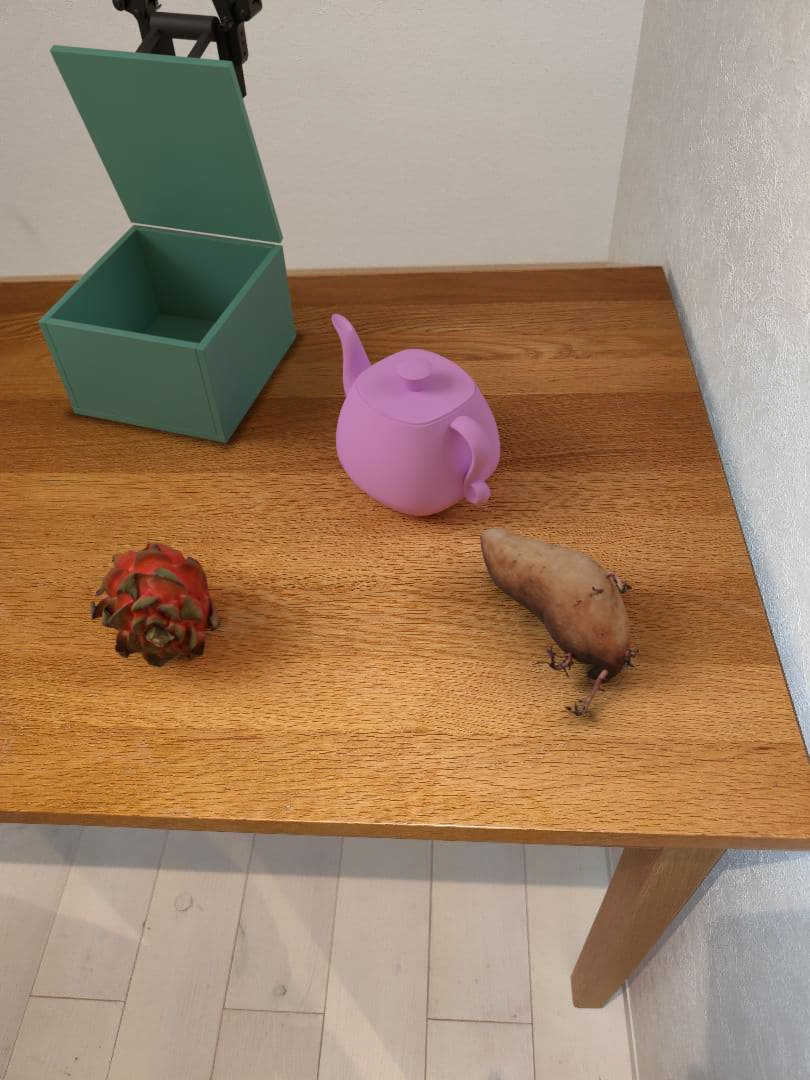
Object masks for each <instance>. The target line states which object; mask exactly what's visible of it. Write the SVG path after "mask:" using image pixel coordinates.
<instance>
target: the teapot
mask: <svg viewBox="0 0 810 1080" xmlns="http://www.w3.org/2000/svg"><path fill="white" fill-rule="evenodd" d="M331 322H332V325H333V327H334V329H335V330H336V333H337V335H338V337H339V340H340V343H341V349H342V385H343V390H344V395H345V399H344V401H343V404H342V406H341V408H340V412H339V415H338V420H337V425H336V431H335V432H336V433H335V446H336V454H337V457H338V460H339V462H340V464H341V466H342V468H343V470H344V471H345V473H346V474H347V476H348V478H350V479H351V481H352V482H353V483H354V484H355V485H356V486H357V487H358V488H359V489H360V490H362V491H363V492H364V493H365V494H366V495H368V496H369V497H370V498H372V499H373V500H375V501H377V502H378V503H381V504H382V505H383V506H385V507H387V508H389V509H391V510H394V511H396V512H398V513H401V514H405V515H409V516H414V517H415V516H416V517H424V516H430V515H435V514H438V513H441V512H442V511H445V510H447V509H449V508H450V507H453V506H455V505H457V503H459V502H461V501H463V500H464V499H466V501H468V502H469V503H471V504H473V505H482V504H485V503H486V502H488V500H489V499H490V497H491V489H490V487H489V486H488V484H487V483H486V481H487V480H489V478H490V477H491V476H492V475H493V474H494V472H495V470H496V469H497V467H498V465H499V463H500V459H501V441H500V434H499V430H498V426H497V422H496V420H495V416H494V413H493V412H492V410H491V407H490V406H489V404H488V402H487V400H486V398H485V397H484V395H483V393H482V392H481V390H480V388H479V386H478V385H477V383H476V382H475V381H474V379H473V378H472V377H471V376H470V375H469V373H467V371H466V370H464V369H463V368H461V366H460V365H458V364H457V363H455V362H453V361H452V360H450V359H448V358H446V357H444V356H442V355H439V354H437V353H435V352H432V351H429V350H426V349H419V348H408V349H404V350H400V351H398V352H395V353H393V354H390V355H388V356H387V357H385V358H383V359H381V360H379V361H377V362H376V363H374V364H371V362H370V359H369V357H368V355H367V353H366V350H365V348H364V346H363V343H362V341H361V339H360V337H359V335H358V333H357V331H356V329H355V327H354V326H353V323H351V322H350V321H349V320H348V319H347V318H346V317H345V316H343V315H341V314H339V313H333V314H332V315H331Z"/></svg>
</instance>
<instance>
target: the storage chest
mask: <svg viewBox="0 0 810 1080" xmlns="http://www.w3.org/2000/svg"><path fill="white" fill-rule="evenodd" d="M283 246H284V245H281V244H276V243H270V242H263V241H261V242H260V241H256V240H249V239H242V238H235V237H228V236H220V235H213V234H206V233H199V232H192V231H185V230H178V229H175V230H174V229H170V228H163V227H156V226H149V225H141V224H133V225H132V226H131V227H130V228H129V229H128V230H127V231H126V232H125V233H124V234H122V236H121V237H120V238H119V239H118V240H117V241H116V242H115V243H114V244H113V245H112V246H111V247H110V248H109V249H108V250H107V251H105V252H104V254H103V255H102V256H101V257H100V258H99V259H98V260H97V261H96V262H94V264H93V265H92V266H91V267H90V268H89V269H88V270H87V271H86V272H85V273H84V274H83V275H82V276H81V277H80V278H79V279H78V280H77V281H76V282H75V283H74V284H73V285H72V286H71V287H70V288H69V289H68V290H67V291H66V293H64V295H62V296H61V297H60V298H59V300H57V301H56V302H55V303H54V305H52V307H50V309H48V310H47V312H45V313H44V315H43V316H41V317H40V319H38V321H37V323H38V326H39V328H40V330H41V333H42V335H43V338H44V340H45V342H46V345H47V348H48V350H49V352H50V353H49V354H50V355H51V357H52V359H53V362H54V365H55V368H56V369H57V372H58V374H59V377H60V379H61V383H62V385H63V388H64V389H65V393H66V395H67V397H68V400H69V403H70V405H71V407H72V410H73V412H74V414H76V415H80V416H86V417H92V418H96V419H102V420H105V421H111V422H115V423H122V424H127V425H132V426H137V427H142V428H146V429H152V430H157V431H162V432H166V433H167V432H168V433H173V434H177V435H183V436H188V437H192V438H198V439H202V440H209V441H214V442H218V443H223V444H227V443H228V442H229V440H230V439H231V438H232V436H233V434H234V433H235V431H236V429H237V428H238V426H239V425H240V424H241V422H242V420H243V419H244V417H245V416H246V415H247V413H248V411H249V410H250V408H251V407H252V405H253V404H254V402H255V400H256V399H257V398H258V397H259V395H260V393H261V392H262V390H263V389H264V387H265V386H266V384H267V382H268V381H269V379H270V378H271V376H272V375H273V373H274V372H275V370H276V369H277V367H278V365H279V364H280V363H281V361H282V359H283V358H284V356H285V355H286V353H287V351H288V350H289V349H290V348H291V346H292V345H293V343H294V341H295V340H296V338H297V332H296V327H295V320H294V312H293V307H292V306H293V305H292V299H291V293H290V285H289V279H288V273H287V267H286V259H285V254H284V247H283Z"/></svg>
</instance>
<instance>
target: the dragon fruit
mask: <svg viewBox="0 0 810 1080" xmlns="http://www.w3.org/2000/svg"><path fill="white" fill-rule="evenodd" d="M111 559H112V560H111V563H113V567H112V568H110V569H109V570H108V572H107V573H106V574H105V575H104V576H103V577H102V579H101V587H100V588H99V589H98V590H96V591H95V595H96V596H97V597H100V596H102V595H103V594H104V593H106V595H107V596H106V597H105V598H103V599H101V600H100V601H99V603H97V604H96V602H95V601H94V600H93V601H91V602H90V605H89V606H90V607H89V614H90V618H91V621H94V620H96V619H100V618H101V625H102V626H103V627H105V628H106V629H107V628H108V629H114V630H117V634H116V638H115V645H114V652H115V653H117V654H118V656H120V657H122V658H124V659H128V658H129V656H130V655H132V654H136V653H138V654H140V656H141V657H142V658H143V660H145V662H147V664H148V665H149V666H152V667H156V668H162V667H163V666H164V665H165V664H167V663H169V662H170V661H173V660H176V659H178V658H179V657H180V656H181V655H182V656H184V657H186V658H187V659H188V660H190V661H192V660H195V659H197V658H199V657H202V656H203V655H204V653H205V648H206V642H207V639H206V638H207V636H206V633H205V630H210V631H211V632H215V631H216V630H218V629H220V628H221V622H222V621H221V617H220V615H219V612H218V609H217V606H216V604H215V603H214V601H213V600H212V598H211V594H210V590H209V589H210V588H209V585H208V578H207V575H206V574H207V573H206V571H205V570H204V568H203V566H202V564H201V563H200V562H199V561H198V560H197V559H195V558H193V557H191V556H189V555H188V556H187V557H184V554H183V553H182V552H181V551H180V550H177V549H175V548H172V547H170V546H168V545H166V544H163V543H161V542H148V543H147V544H146V546H145V548H142V549H140V550H138V551H134V550H127V551H126V552H121V553H120V552H119V553H115V554H113V555H112V557H111ZM104 565H105V566H107V563H105V564H104ZM104 565H102V566H101V568H102V567H103V568H104Z"/></svg>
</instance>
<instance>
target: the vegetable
mask: <svg viewBox="0 0 810 1080" xmlns="http://www.w3.org/2000/svg"><path fill="white" fill-rule="evenodd" d="M479 538H480V548H481V553H482V558H483V561H484V565H485V567H486V570H487V573H488V575H489V578H491V581H492V582H493V584H494V585H495V586H496V587H497V588H498V589H499V590H501V591H502V592H503V593H504V594H505V595H506V596H508V597H509V598H511V599H512V600H513V601H515V602H516V603H517V604H520V605H521V606H523V607H524V608H526V609H527V610H529V611H530V612H531V613H532V614H533V615H535V616H536V617H537V618H538V619H539V620H540V622H541V623H542V624H543V626H544V627H545V629H546V631H547V632H548V634H549V635H550V637H551V638H552V640H553V642H554V643H555V644H556V646H558V647H559V649H560V650H561V651H562V652H563V653H565V655H559V654H557V651H553V649H554V648H553V644H551V645H550V649H549V648H547V647H545V651H546V654H548V657H549V658H550V662H548V661H544V660H542V661H538V662H535V663H532V664H531V666H536V665H540V664H544V663H545V664H547V665H548V666H549V667H550V668H551V669H552V670H553V671H557V672H558V671H559V672H560V671H562V670H563V671H564V672H565V676H566V677H567V678H568V679H570V675H569V674H568V672H569V671H570V670H571V669H572V666H573V665H575V662H574V661H576V662H578V663H581V664H585V665H590V666H593V667H592V668H590V669H589V670H588V671H587V672H586V677H587V678H588V681H589V682H590V683H593V686H592V688H591V690H590V692H589V694H588V696H586V698H585V699H584V700H583V699H578V700H577V701H578V703H583V705H582V706H581V708H580V710H579V707H578V703H577V702H575V703H574V710H573V707H571V706H564V708H565V709H566V710H567V711H569V712H570V713H572V714H573V715H575V716H576V717H581V716H582V715H583V714H584V713H585V712H586V711H587V710H588V709H589V707H590V705H591V703H592V701H593V699H594V697H595V696H596V693H597V691H601V692H603V693H605V692H606V690H605V689H603V688H602V687H601V684H603V685H604V684H606V683H608V682H610V681H611V680H612V679H614V678H615V677H617V676H618V675H619V674H620V673H621V672H622V670H623V669H624V668H628V667H630V668H635V667H636V665H634V658H635V657H636V655H637V654H639V653H640V646H638V647H637V648H635V649H634V648H632V647H631V627H630V626H631V624H630V619H629V615H628V611H627V609H626V606H625V603H624V601H623V597H622V595H624V594H627V593H632V592H634V590H633V588H632V586H631V585H630V584H628V583H627V582H628V581H629V580H628V579H627V580H625V581H624V584H623V585H622V581H621V579H620V577H619V576H618V574H617V573H615V572H614V571H613V570H612V571H607V570H606V569H605V568H604V567H603V566H602V565H601V564H600V563H599V562H598V561H597V560H595V559H593V558H592V557H591V556H589V555H588V554H586V553H584V552H581V551H579V550H576V549H574V548H570V547H566V546H561V545H559V544H555V543H551V542H549V541H545V540H540V539H537V538H531V537H527V536H524V535H521V534H517V533H514V532H511V531H509V530H507V529H504V528H499V527H497V528H495V527H494V528H488V529H486V530H483V531H482V532H481V533H480V536H479ZM556 657H557V658H561V659H563V658H565V659H564V660H563V661H562V662H557V661H555V660H556ZM567 668H568V671H567Z"/></svg>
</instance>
